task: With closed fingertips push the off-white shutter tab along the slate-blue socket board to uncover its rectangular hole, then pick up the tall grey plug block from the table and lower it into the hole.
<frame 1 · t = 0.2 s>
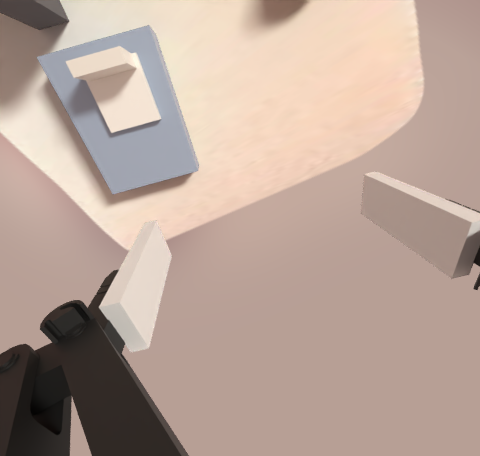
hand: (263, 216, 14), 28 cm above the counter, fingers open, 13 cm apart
shutter: (118, 94, 28), point 6 cm above the counter, slide at 0.0 cm
socket board: (136, 120, 35), on the counter
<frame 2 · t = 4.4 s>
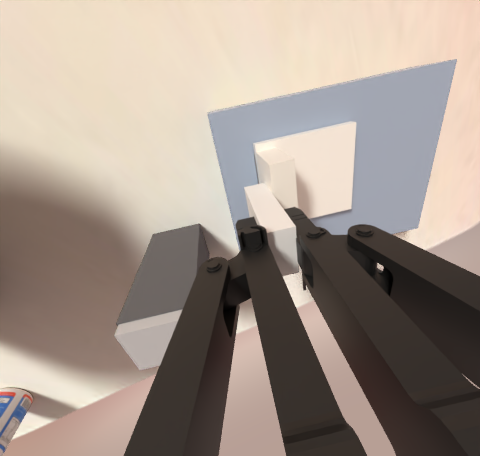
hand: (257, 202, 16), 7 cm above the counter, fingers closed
shutter: (316, 186, 17), point 6 cm above the counter, slide at 0.5 cm, touching gripper
plug: (182, 244, 25), on the counter
socket board: (313, 169, 23), on the counter
pill bottle: (14, 395, 34), on the counter
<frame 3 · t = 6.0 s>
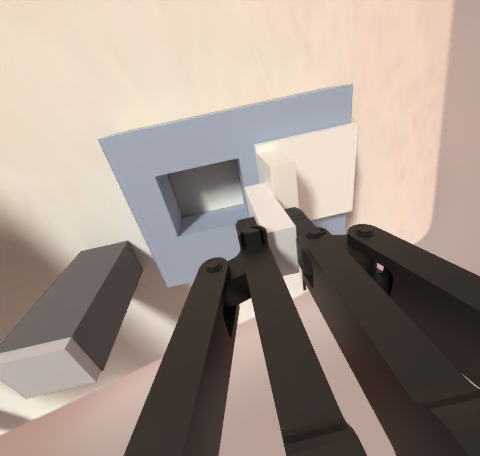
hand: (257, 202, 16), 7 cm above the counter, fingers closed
shutter: (317, 188, 16), point 6 cm above the counter, slide at 8.3 cm, touching gripper
plug: (113, 260, 25), on the counter
socket board: (238, 188, 23), on the counter
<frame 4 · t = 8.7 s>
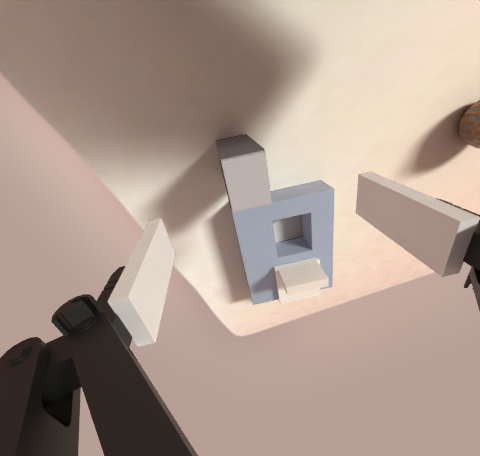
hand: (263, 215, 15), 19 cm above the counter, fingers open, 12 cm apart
shutter: (302, 290, 35), point 7 cm above the counter, slide at 8.5 cm
plug: (234, 156, 31), on the counter
socket board: (281, 240, 38), on the counter
vase: (471, 119, 32), on the counter
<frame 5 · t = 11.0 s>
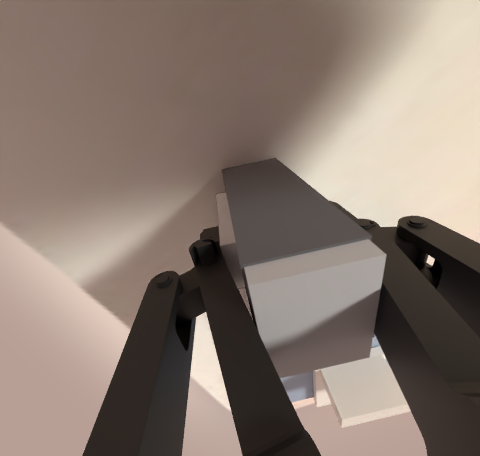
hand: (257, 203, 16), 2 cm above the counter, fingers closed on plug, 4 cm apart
shutter: (357, 399, 22), point 6 cm above the counter, slide at 8.5 cm
plug: (253, 195, 18), on the counter, touching gripper
socket board: (319, 311, 25), on the counter
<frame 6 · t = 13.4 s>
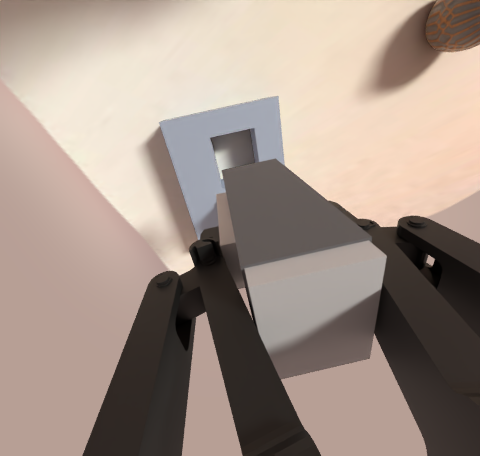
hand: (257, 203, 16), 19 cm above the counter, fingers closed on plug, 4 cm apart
plug: (253, 196, 18), point 17 cm above the counter, touching gripper
socket board: (231, 175, 34), on the counter
vase: (440, 22, 28), on the counter
when the fingers open (5 cm above the counter, at t = 16.1 s): plug drops 3 cm, resting in socket board.
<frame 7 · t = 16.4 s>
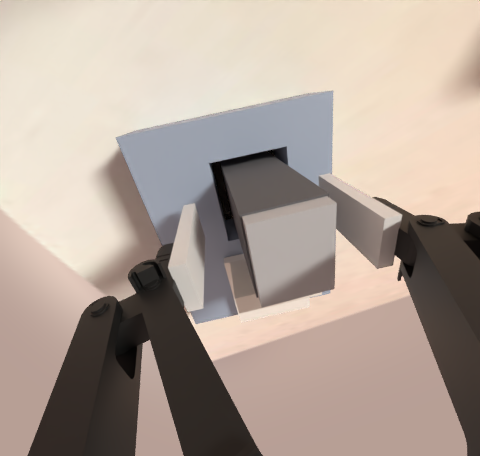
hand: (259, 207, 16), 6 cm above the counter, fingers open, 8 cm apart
shutter: (275, 300, 19), point 7 cm above the counter, slide at 8.5 cm
plug: (247, 182, 21), resting in socket board
socket board: (242, 213, 22), on the counter
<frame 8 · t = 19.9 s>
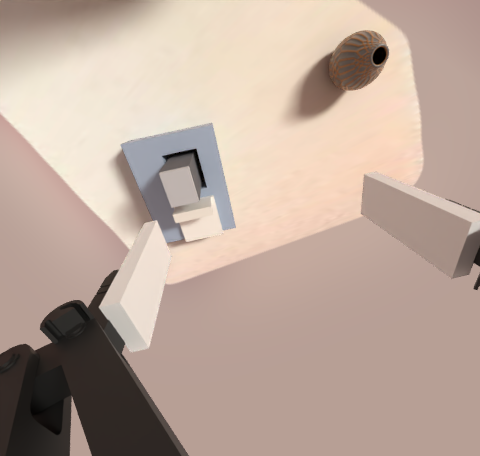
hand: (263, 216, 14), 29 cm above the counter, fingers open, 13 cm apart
shutter: (198, 224, 39), point 7 cm above the counter, slide at 8.5 cm
plug: (187, 166, 40), resting in socket board
socket board: (186, 183, 42), on the counter
vase: (342, 66, 36), on the counter
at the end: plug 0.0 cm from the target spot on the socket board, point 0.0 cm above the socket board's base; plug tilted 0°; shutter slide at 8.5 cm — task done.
